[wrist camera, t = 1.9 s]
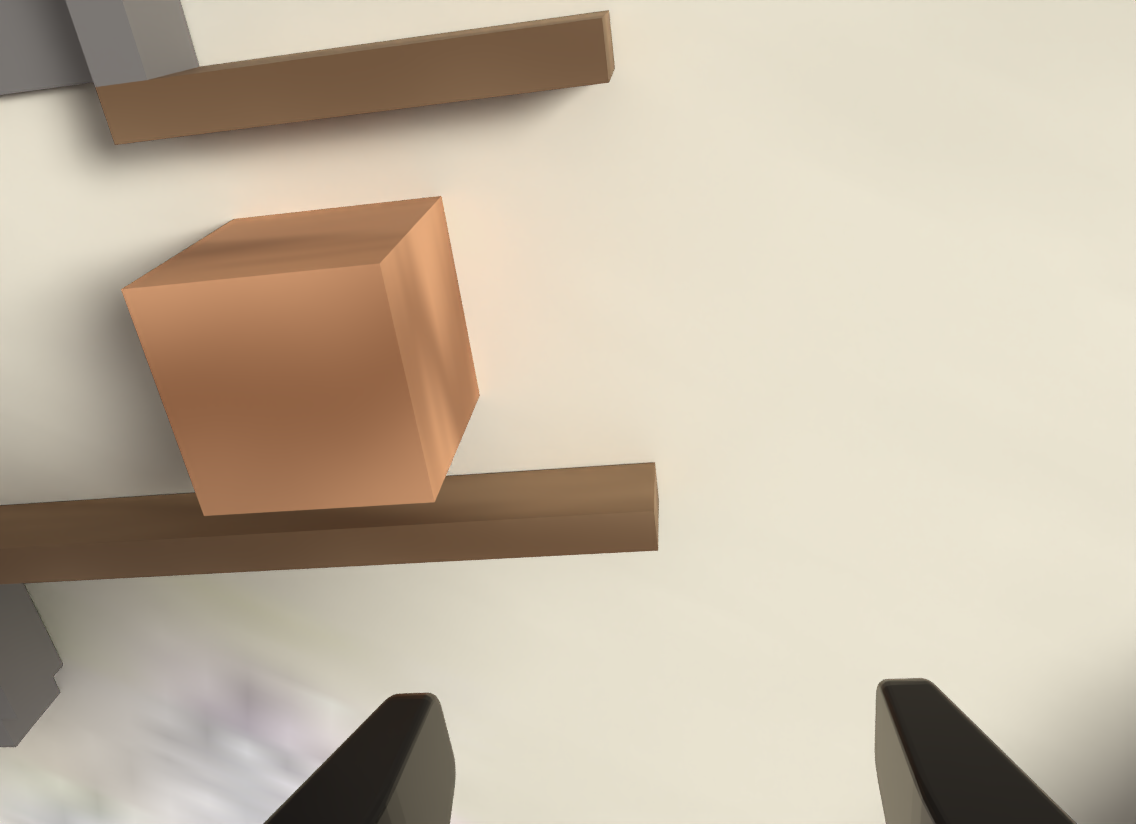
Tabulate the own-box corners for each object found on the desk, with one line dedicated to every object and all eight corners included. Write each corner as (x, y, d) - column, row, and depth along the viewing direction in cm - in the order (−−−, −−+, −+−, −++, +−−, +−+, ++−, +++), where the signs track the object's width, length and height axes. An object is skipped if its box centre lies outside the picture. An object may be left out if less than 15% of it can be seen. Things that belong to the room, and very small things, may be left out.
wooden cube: (480, 393, 20) (434, 502, 16) (291, 408, 21) (203, 516, 17) (441, 195, 18) (379, 263, 14) (235, 218, 19) (121, 289, 15)
